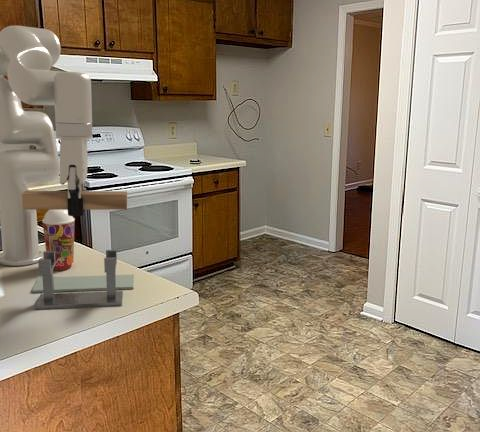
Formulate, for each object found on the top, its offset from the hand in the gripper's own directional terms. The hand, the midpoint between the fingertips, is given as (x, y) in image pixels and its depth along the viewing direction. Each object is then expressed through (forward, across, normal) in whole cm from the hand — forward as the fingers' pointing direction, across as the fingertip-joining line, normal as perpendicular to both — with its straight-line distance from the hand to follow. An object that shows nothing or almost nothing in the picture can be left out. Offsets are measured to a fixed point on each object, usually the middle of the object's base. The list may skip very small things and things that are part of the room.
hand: (76, 212), depth 111 cm
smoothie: (+22, -24, -8) cm, 34 cm away
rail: (-1, 0, 0) cm, 1 cm away
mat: (+21, -10, 0) cm, 24 cm away
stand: (+21, 0, 0) cm, 21 cm away
